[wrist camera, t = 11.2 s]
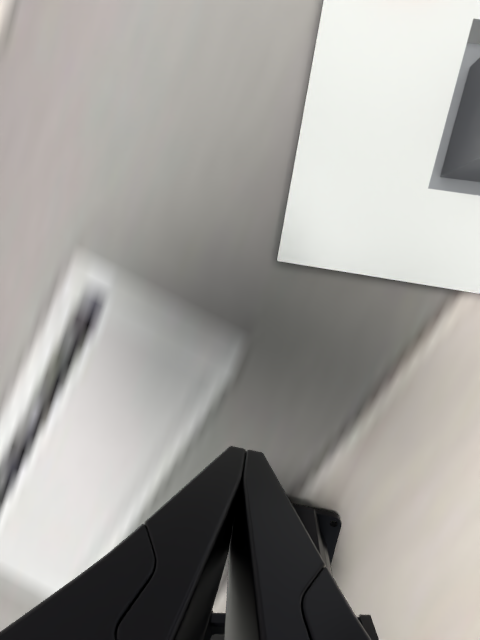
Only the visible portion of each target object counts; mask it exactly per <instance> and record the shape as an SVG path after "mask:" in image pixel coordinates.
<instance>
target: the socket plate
mask: <svg viewBox="0 0 480 640" xmlns="http://www.w3.org/2000/svg"><path fill="white" fill-rule="evenodd" d="M479 58H480V0H324V1H323V6H322V12H321V18H320V23H319V29H318V34H317V40H316V45H315V51H314V57H313V62H312V68H311V73H310V79H309V84H308V90H307V96H306V101H305V107H304V112H303V118H302V123H301V129H300V134H299V140H298V146H297V151H296V157H295V162H294V168H293V173H292V179H291V185H290V190H289V196H288V201H287V207H286V212H285V218H284V224H283V229H282V235H281V240H280V246H279V251H278V257H277V261H281V262H287V263H293V264H300V265H306V266H312V267H318V268H324V269H330V270H337V271H343V272H349V273H355V274H361V275H367V276H373V277H380V278H386V279H392V280H398V281H404V282H410V283H417V284H423V285H429V286H435V287H441V288H447V289H453V290H460V291H466V292H472V293H478V294H480V182H475V181H468V180H460V179H453V178H445V177H440V176H441V172H442V168H443V165H444V161H445V157H446V154H447V150H448V146H449V143H450V139H451V135H452V131H453V128H454V124H455V120H456V117H457V113H458V109H459V106H460V102H461V98H462V95H463V91H464V87H465V84H466V80H467V76H468V72H469V69H470V66H471V65H472V64H473V63H474V62H476V61H477V60H478V59H479Z"/></svg>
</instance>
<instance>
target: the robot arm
mask: <svg viewBox="0 0 480 640" xmlns="http://www.w3.org/2000/svg"><path fill="white" fill-rule="evenodd" d="M245 454H246V455H245ZM331 521H335V522H331ZM340 528H341V520H340V517H339V515H338V514H336V513H333V512H329V511H324V510H320V509H315V508H311V507H306V506H302V505H297V504H293V503H291V502H290V500H289V499H288V497H287V495H286V493H285V491H284V490H283V488H282V486H281V484H280V483H279V481H278V479H277V477H276V475H275V474H274V472H273V470H272V468H271V467H270V465H269V463H268V461H267V459H266V458H265V456H264V454H263V453H262V452H258V451H253V450H247V451H245V449H243V448H238V447H234V446H230V447H228V448H227V449H226V450H225V451H224V452H223V453H222V454H221V455H219V456H218V457H217V458H216V459H215V460H214V461H213V462H212V463H210V464H209V465H208V466H207V467H206V468H205V469H204V470H203V471H202V472H200V473H199V474H198V475H197V476H196V477H195V478H194V479H193V480H191V481H190V482H189V483H188V484H187V485H186V486H185V487H184V488H182V489H181V490H180V491H179V492H178V493H177V494H176V495H175V496H173V497H172V498H171V499H170V500H169V501H168V502H167V503H166V504H164V505H163V506H162V507H161V508H160V509H159V510H158V511H157V512H155V513H154V514H153V515H152V516H151V517H150V518H149V519H148V520H146V521H145V523H144V524H142V525H141V526H139V527H138V528H137V529H136V530H135V531H134V532H133V533H132V534H131V535H129V536H128V537H127V538H126V539H125V540H123V541H122V542H121V543H120V544H119V545H117V546H116V547H115V548H114V549H113V550H112V551H110V552H109V553H108V554H107V555H105V556H104V557H103V558H101V559H100V560H99V561H97V562H96V563H95V564H93V565H92V566H91V567H90V568H88V569H87V570H86V571H84V572H83V573H82V574H80V575H79V576H78V577H76V578H75V579H73V580H72V581H71V582H69V583H68V584H66V585H65V586H64V587H62V588H61V589H59V590H58V591H57V592H55V593H54V594H52V595H51V596H50V597H48V598H47V599H45V600H44V601H43V602H41V603H40V604H39V605H37V606H36V607H34V608H33V609H32V610H30V611H29V612H27V613H26V614H25V615H23V616H22V617H20V618H19V619H18V620H16V621H15V622H13V623H12V624H11V625H9V626H8V627H6V628H5V629H4V630H2V631H1V632H0V640H379V639H378V636H377V633H376V630H375V627H374V625H373V622H372V619H371V616H370V615H359V617H356V616H355V614H354V612H353V611H352V609H351V607H350V606H349V604H348V602H347V600H346V599H345V597H344V595H343V594H342V592H341V590H340V589H339V587H338V585H337V584H336V582H335V580H334V578H333V576H332V572H331V566H330V565H331V562H332V558H333V554H334V550H335V547H336V543H337V539H338V536H339V532H340ZM231 535H232V536H231ZM230 541H231V543H230ZM229 546H230V550H229ZM228 551H229V563H228V582H227V601H226V613H213V611H212V608H213V604H214V601H215V597H216V594H217V590H218V587H219V583H220V580H221V576H222V573H223V569H224V566H225V562H226V558H227V555H228Z"/></svg>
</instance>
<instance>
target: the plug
mask: <svg viewBox="0 0 480 640" xmlns="http://www.w3.org/2000/svg"><path fill="white" fill-rule="evenodd" d="M440 177H445V178H453V179H460V180H468V181H475V182H480V58H479V59H478V60H477V61H476V62H474V63H473V64H472V65H471V66H470V69H469V72H468V76H467V80H466V84H465V87H464V91H463V95H462V98H461V102H460V106H459V109H458V113H457V117H456V120H455V124H454V128H453V131H452V135H451V139H450V143H449V146H448V150H447V154H446V157H445V161H444V165H443V168H442V172H441V176H440Z"/></svg>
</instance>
